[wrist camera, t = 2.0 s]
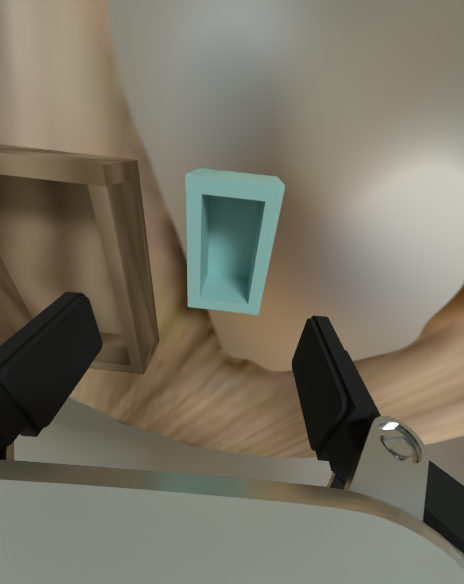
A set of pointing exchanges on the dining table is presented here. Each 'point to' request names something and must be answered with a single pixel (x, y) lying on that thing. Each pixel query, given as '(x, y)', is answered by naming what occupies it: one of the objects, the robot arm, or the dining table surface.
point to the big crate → (77, 248)
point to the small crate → (230, 237)
